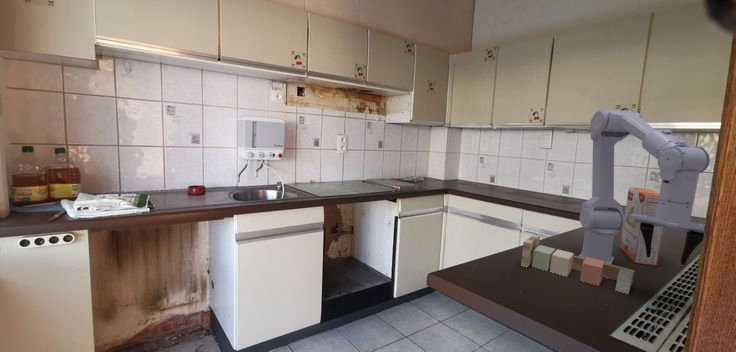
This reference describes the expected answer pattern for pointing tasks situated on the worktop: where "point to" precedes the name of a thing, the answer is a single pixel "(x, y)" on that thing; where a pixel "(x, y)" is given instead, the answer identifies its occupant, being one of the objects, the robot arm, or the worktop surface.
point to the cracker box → (631, 235)
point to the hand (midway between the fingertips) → (665, 259)
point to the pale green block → (542, 257)
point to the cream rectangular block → (561, 262)
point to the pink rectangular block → (592, 271)
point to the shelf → (608, 272)
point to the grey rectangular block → (624, 281)
